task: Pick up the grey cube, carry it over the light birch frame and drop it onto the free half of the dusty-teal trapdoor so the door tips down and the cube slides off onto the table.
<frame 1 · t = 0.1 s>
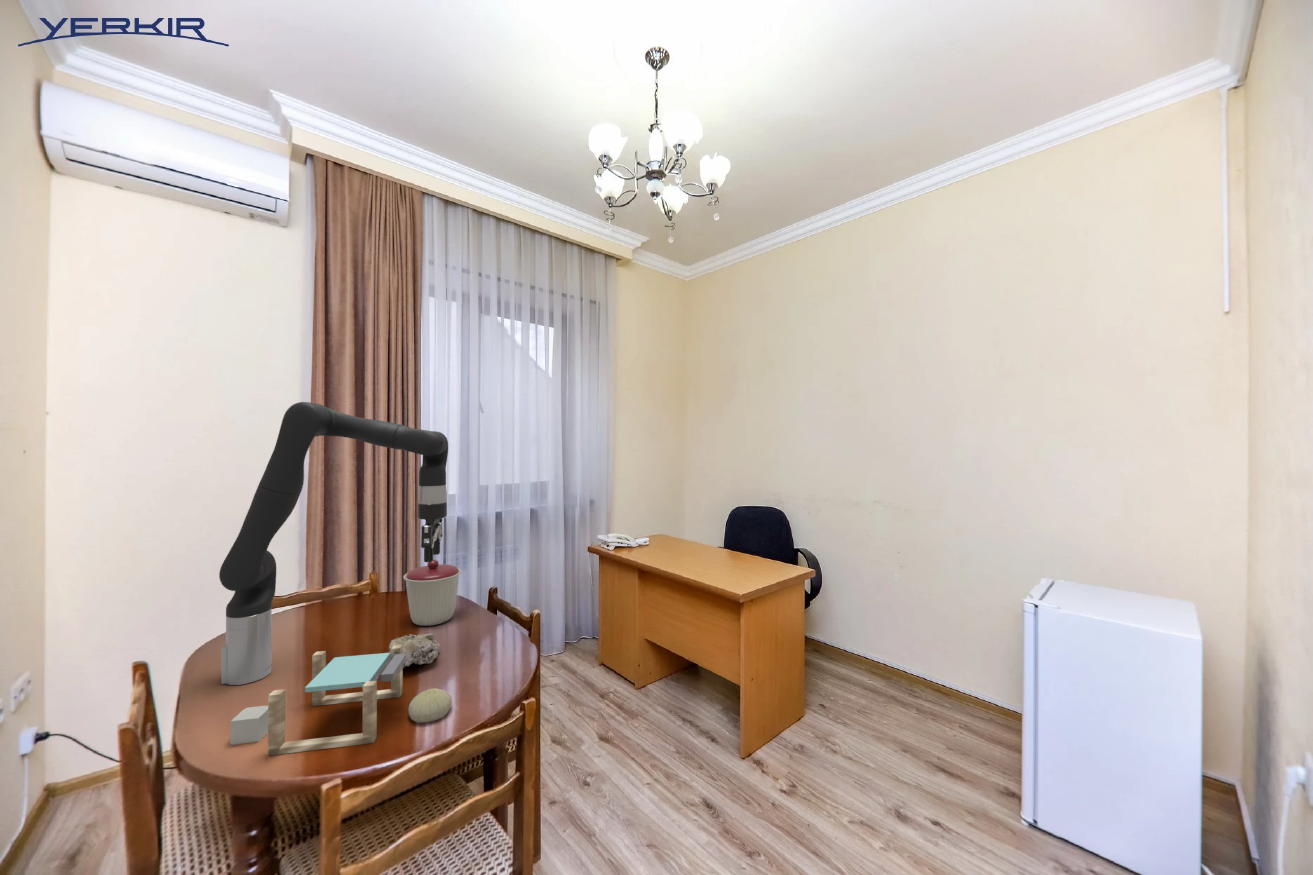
hand: (432, 557, 136), 29 cm above the table, fingers open, 8 cm apart
canister: (432, 621, 166), on the table
trapdoor: (360, 670, 108), point 11 cm above the table, hinge at -0.1°
grey cube: (252, 736, 102), on the table
frame: (345, 720, 107), on the table
sea urchin shell: (430, 714, 110), on the table
geode: (416, 663, 135), on the table
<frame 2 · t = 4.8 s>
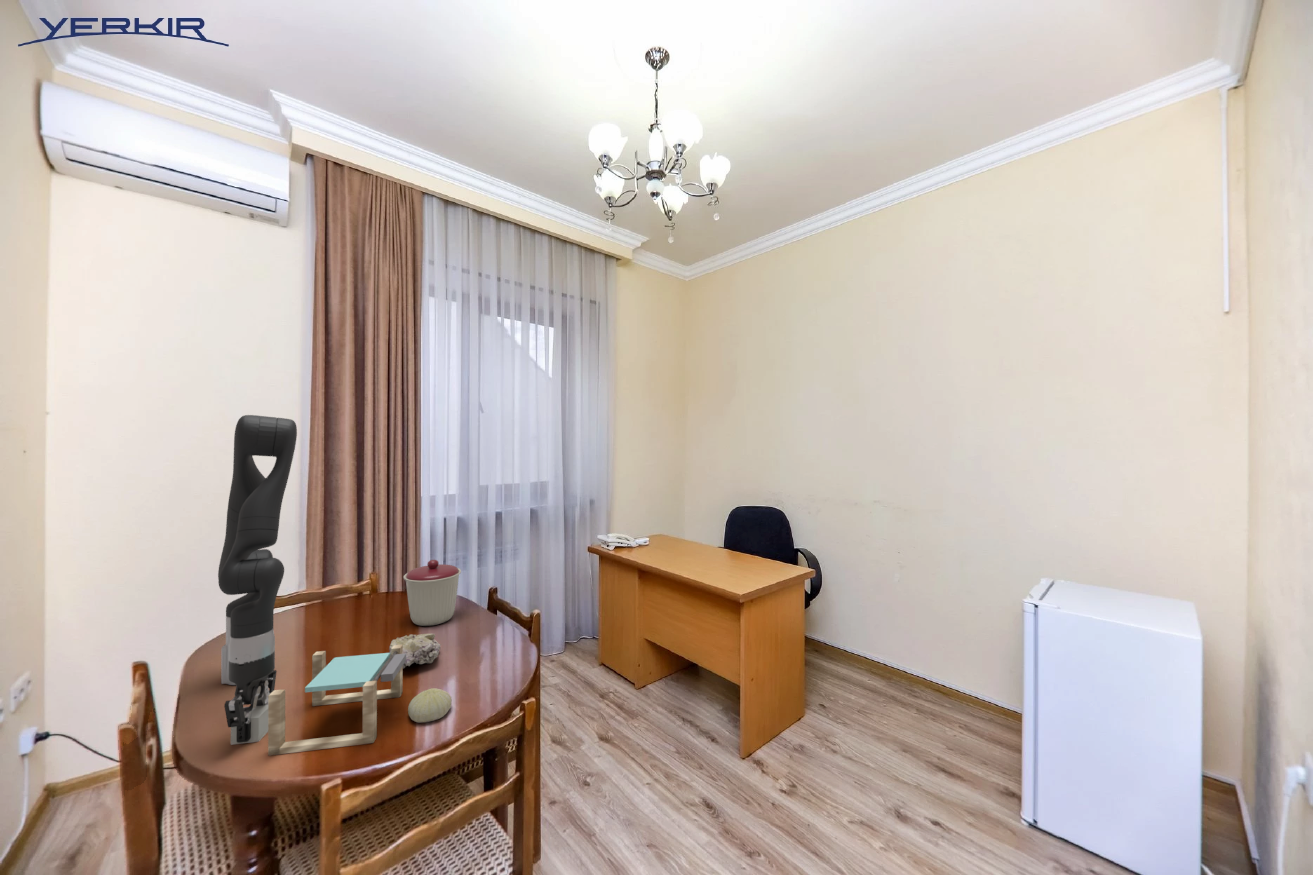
hand: (251, 732, 102), 1 cm above the table, fingers closed on grey cube, 5 cm apart
grey cube: (252, 735, 102), on the table, touching gripper
everything else where it was.
when the fingers open (14 cm above the table, at t = 8.2 s): grey cube drops 11 cm and tips over, point 2 cm above the table.
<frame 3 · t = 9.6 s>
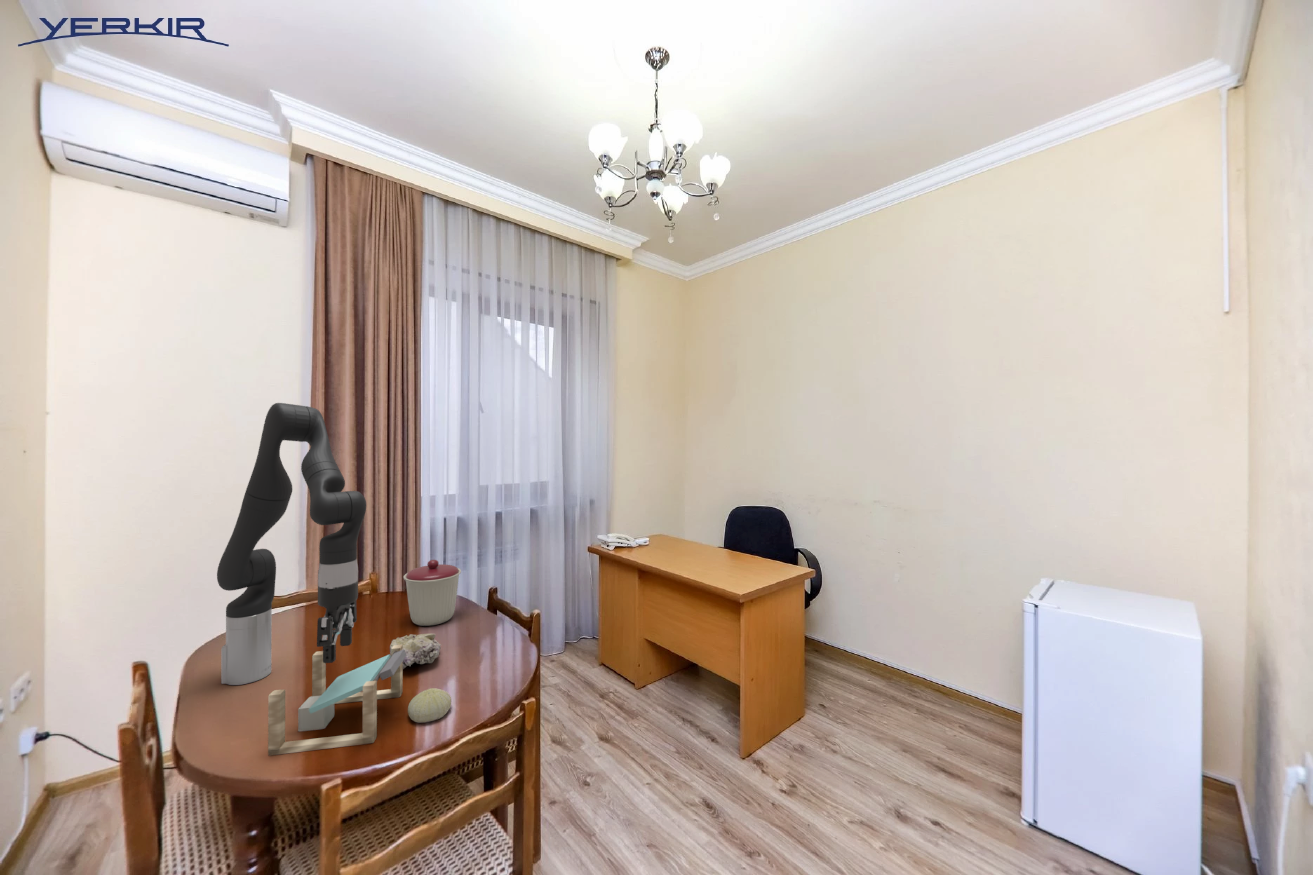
hand: (337, 653, 107), 15 cm above the table, fingers open, 8 cm apart
trapdoor: (362, 677, 108), point 9 cm above the table, hinge at -20.9°
grey cube: (329, 711, 107), point 2 cm above the table, tilted 90°
everything else where it was.
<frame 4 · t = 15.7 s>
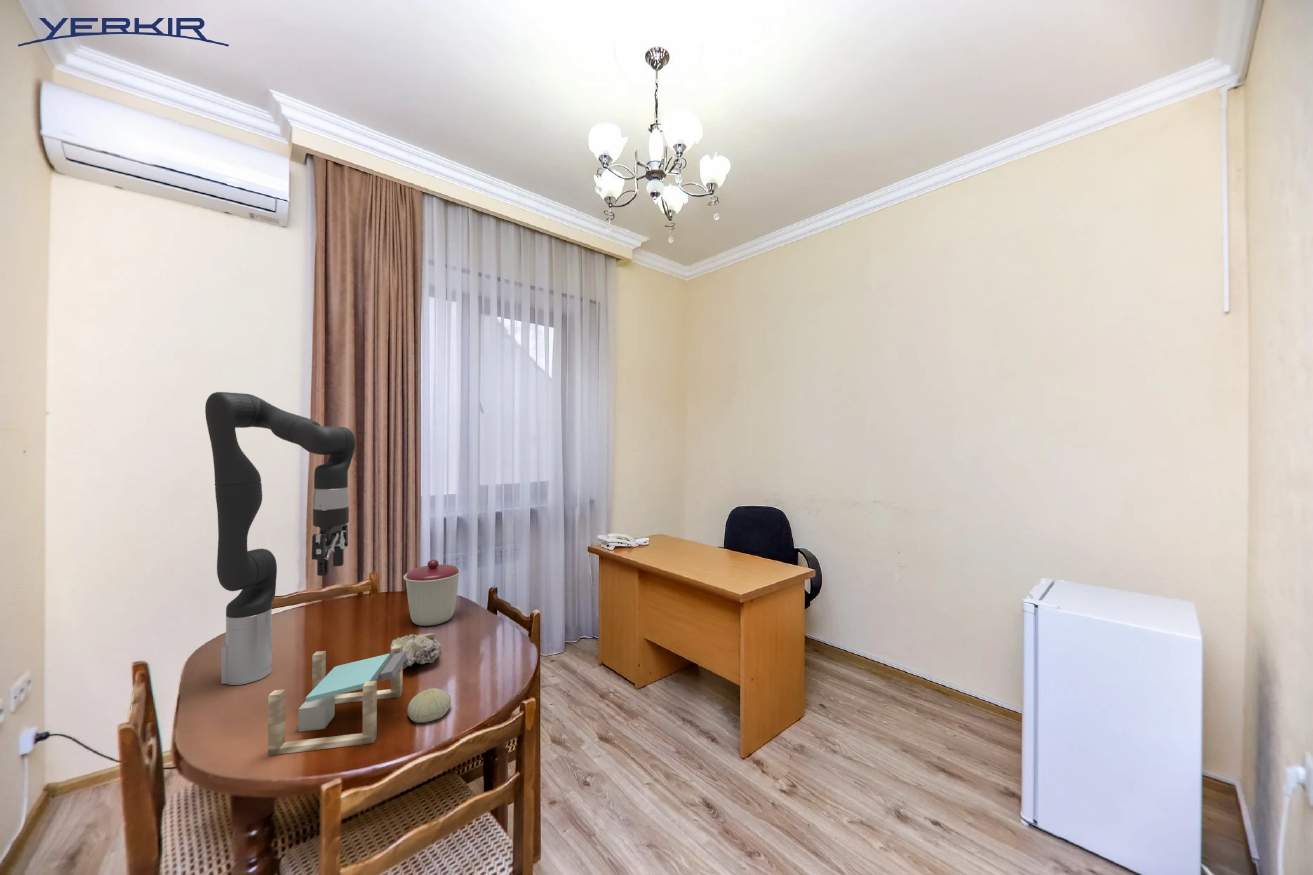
hand: (330, 570, 120), 30 cm above the table, fingers open, 8 cm apart
trapdoor: (361, 673, 108), point 10 cm above the table, hinge at -9.6°
everything else where it was.
at the end: grey cube point 2.4 cm above the table; grey cube moved 14.2 cm from its start; the gripper is holding nothing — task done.
